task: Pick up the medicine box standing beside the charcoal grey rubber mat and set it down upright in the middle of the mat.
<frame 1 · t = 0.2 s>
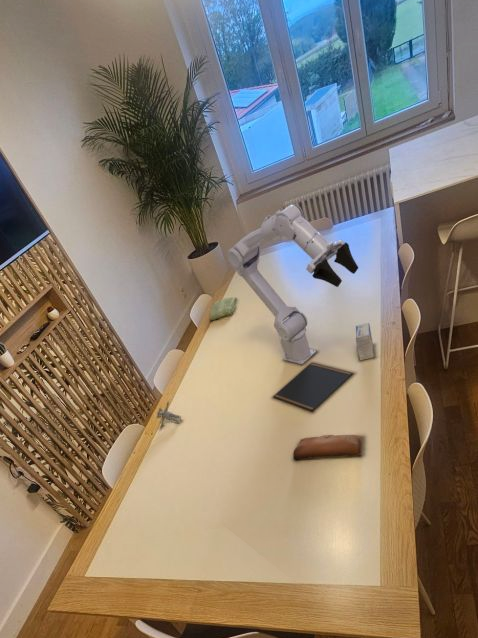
hand: (348, 277, 111), 31 cm above the table, tool tilted 45°, fingers open, 7 cm apart
medicine box: (366, 353, 138), on the table
washcloth: (224, 311, 206), on the table
sunglasses case: (328, 449, 113), on the table
slate mat: (312, 386, 136), on the table
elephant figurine: (173, 420, 153), on the table
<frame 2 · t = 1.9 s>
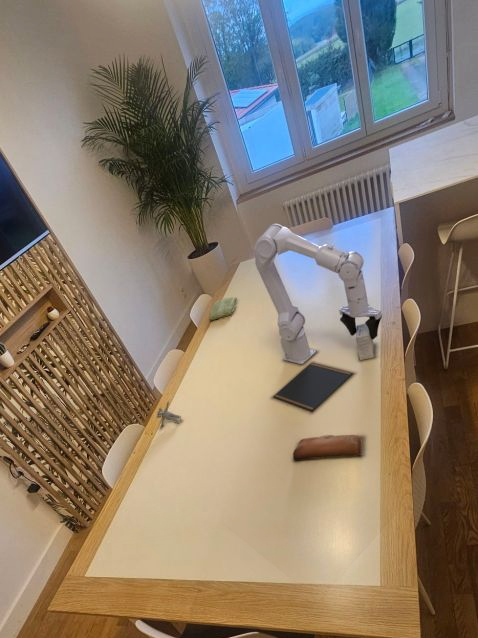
hand: (363, 335, 133), 6 cm above the table, tool pointing down, fingers closed on medicine box, 7 cm apart
medicine box: (367, 353, 138), on the table, touching gripper
everything else where it was.
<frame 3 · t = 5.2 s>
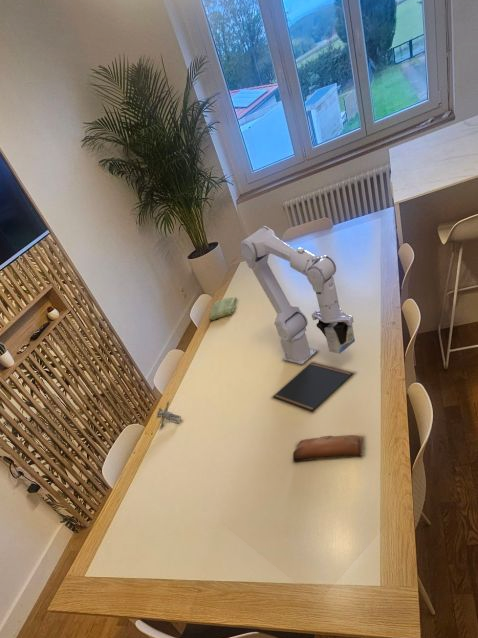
hand: (337, 341, 130), 10 cm above the table, tool pointing down, fingers closed on medicine box, 4 cm apart
medicine box: (342, 347, 133), point 7 cm above the table, touching gripper
everything else where it was.
when the fingers open (4 cm above the table, at t = 8.1 s): medicine box stays where it is, resting on slate mat.
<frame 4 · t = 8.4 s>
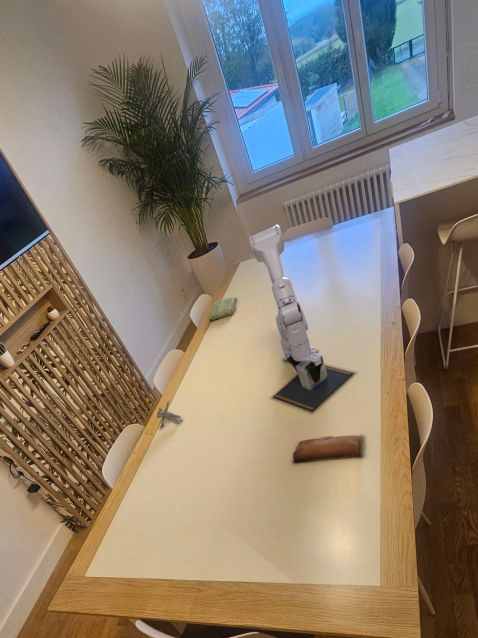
hand: (309, 377, 133), 4 cm above the table, tool pointing down, fingers open, 7 cm apart
medicine box: (315, 383, 136), resting on slate mat
everything else where it was.
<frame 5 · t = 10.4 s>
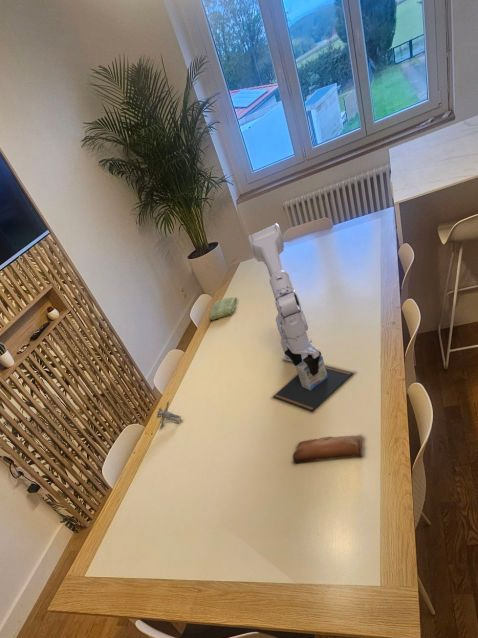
hand: (307, 370, 132), 6 cm above the table, tool pointing down, fingers open, 7 cm apart
nothing on the table moved.
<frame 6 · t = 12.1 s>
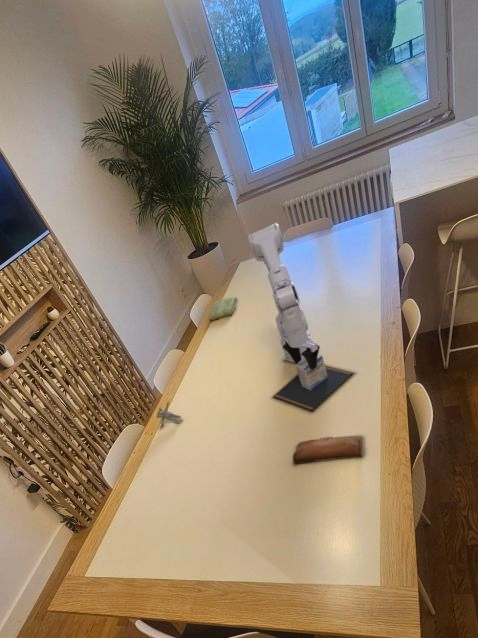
hand: (306, 364, 130), 8 cm above the table, tool pointing down, fingers open, 7 cm apart
nothing on the table moved.
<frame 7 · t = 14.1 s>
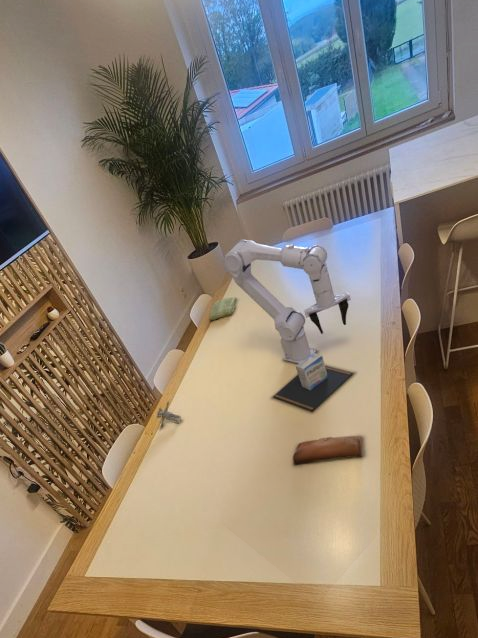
hand: (333, 328, 136), 10 cm above the table, tool pointing down, fingers open, 7 cm apart
nothing on the table moved.
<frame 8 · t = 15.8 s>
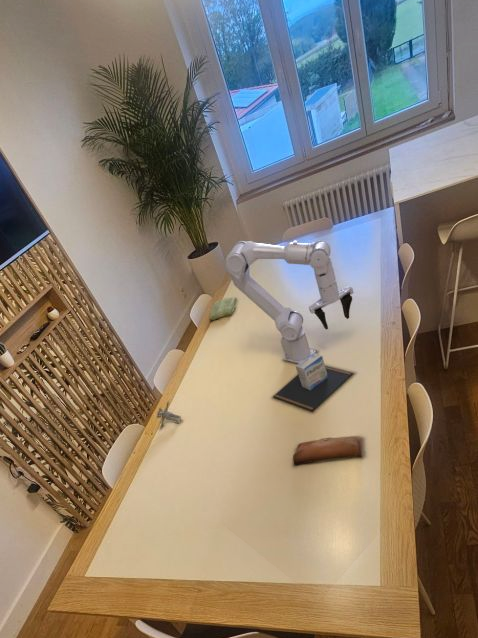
hand: (336, 322, 137), 10 cm above the table, tool pointing down, fingers open, 7 cm apart
at the end: medicine box inside the target area on the slate mat (1.5 cm from its centre), point 0.2 cm above the slate mat's base; medicine box tilted 0°; the gripper is holding nothing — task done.
